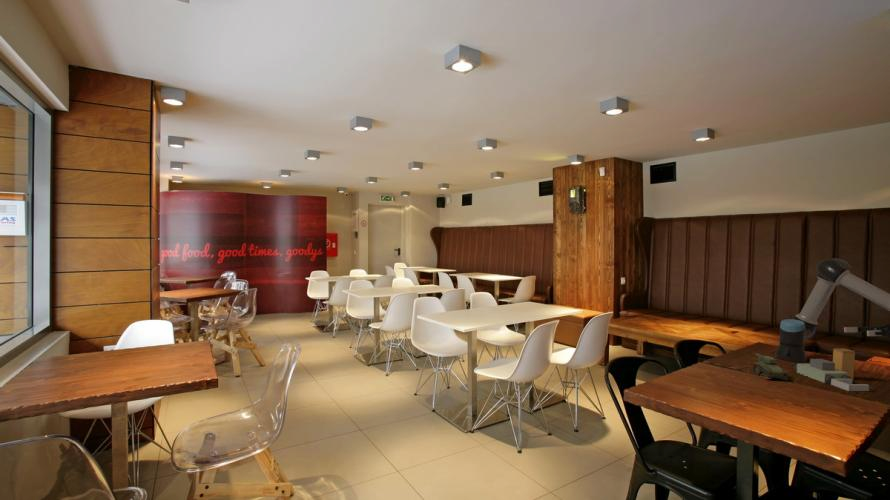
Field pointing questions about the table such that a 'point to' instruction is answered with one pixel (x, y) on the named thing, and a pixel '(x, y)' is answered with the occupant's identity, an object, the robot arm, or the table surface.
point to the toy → (769, 368)
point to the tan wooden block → (844, 360)
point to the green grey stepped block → (829, 374)
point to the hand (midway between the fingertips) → (855, 331)
